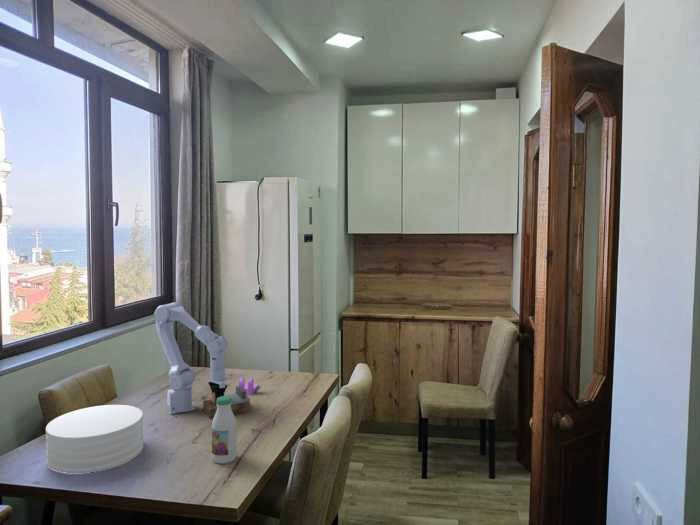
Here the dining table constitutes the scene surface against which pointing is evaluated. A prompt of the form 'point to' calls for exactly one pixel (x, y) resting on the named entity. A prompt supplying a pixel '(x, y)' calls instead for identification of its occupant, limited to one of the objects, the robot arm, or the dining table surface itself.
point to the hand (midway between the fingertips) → (217, 400)
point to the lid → (238, 396)
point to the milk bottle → (224, 432)
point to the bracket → (248, 386)
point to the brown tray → (235, 408)
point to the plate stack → (94, 438)
